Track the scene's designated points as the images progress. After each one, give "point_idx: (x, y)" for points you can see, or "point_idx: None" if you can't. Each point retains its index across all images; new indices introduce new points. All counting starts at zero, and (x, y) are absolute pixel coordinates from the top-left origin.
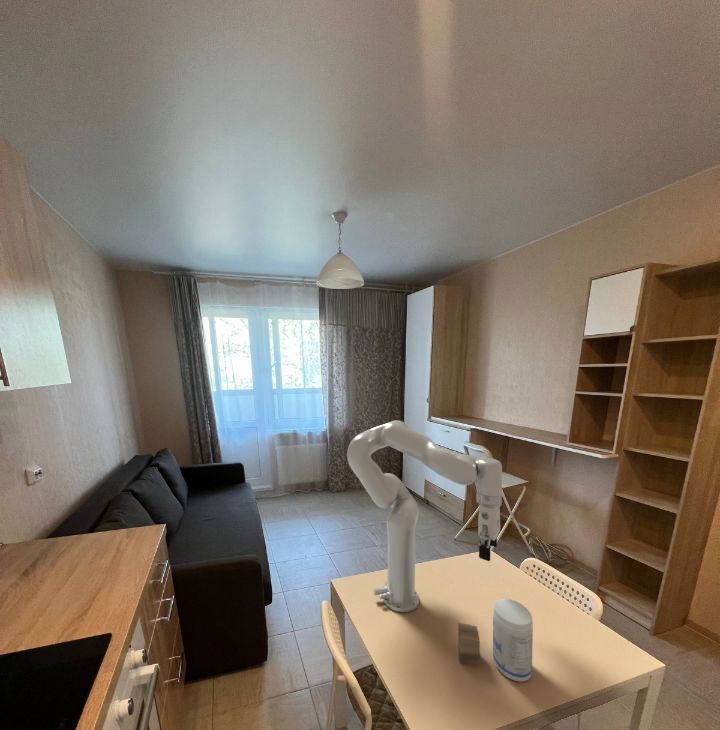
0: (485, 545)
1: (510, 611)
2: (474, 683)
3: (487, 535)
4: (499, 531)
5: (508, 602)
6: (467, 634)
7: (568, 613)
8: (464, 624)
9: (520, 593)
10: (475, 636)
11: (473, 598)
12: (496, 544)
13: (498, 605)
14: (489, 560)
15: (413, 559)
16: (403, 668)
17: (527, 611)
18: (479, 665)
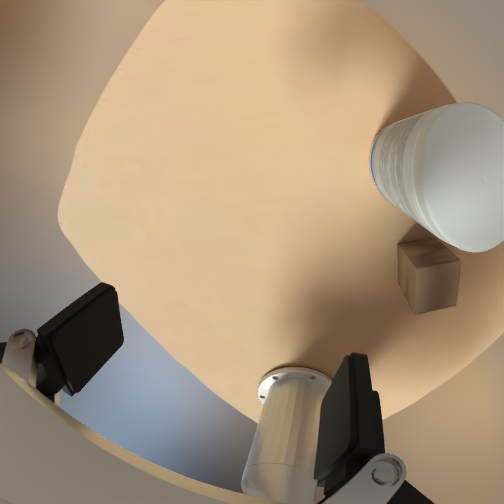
0: (425, 499)
1: (487, 189)
2: None
3: (85, 378)
4: (16, 387)
5: (446, 189)
6: (447, 290)
7: (154, 36)
8: (417, 300)
9: (131, 138)
10: (450, 271)
11: (211, 253)
12: (99, 293)
13: (472, 236)
14: (365, 358)
15: (294, 462)
16: (450, 356)
17: (464, 113)
18: (436, 239)
